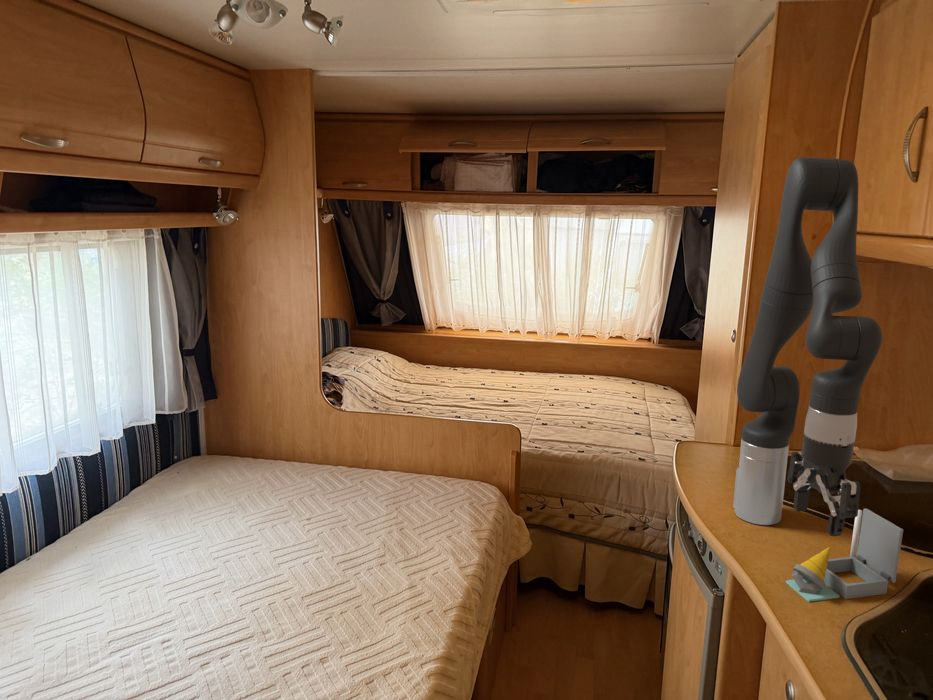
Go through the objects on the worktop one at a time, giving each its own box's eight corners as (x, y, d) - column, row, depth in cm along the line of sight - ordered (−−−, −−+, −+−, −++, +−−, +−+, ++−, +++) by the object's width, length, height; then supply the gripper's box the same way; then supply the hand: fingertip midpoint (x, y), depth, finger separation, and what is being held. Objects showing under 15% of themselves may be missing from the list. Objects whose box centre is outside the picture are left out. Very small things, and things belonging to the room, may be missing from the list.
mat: (785, 582, 119) (785, 580, 119) (815, 578, 120) (815, 576, 120) (808, 601, 113) (808, 599, 113) (839, 597, 114) (839, 595, 114)
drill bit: (781, 582, 119) (813, 539, 120) (809, 603, 116) (841, 558, 118) (786, 579, 114) (819, 534, 116) (816, 601, 112) (849, 554, 113)
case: (804, 567, 123) (811, 508, 121) (852, 561, 125) (860, 503, 123) (845, 599, 114) (853, 535, 111) (896, 592, 115) (906, 529, 113)
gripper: (781, 420, 116) (771, 504, 120) (839, 452, 102) (826, 546, 106) (819, 418, 117) (808, 501, 121) (882, 449, 104) (867, 541, 108)
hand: (816, 522), depth 114 cm, fingers open, 8 cm apart
